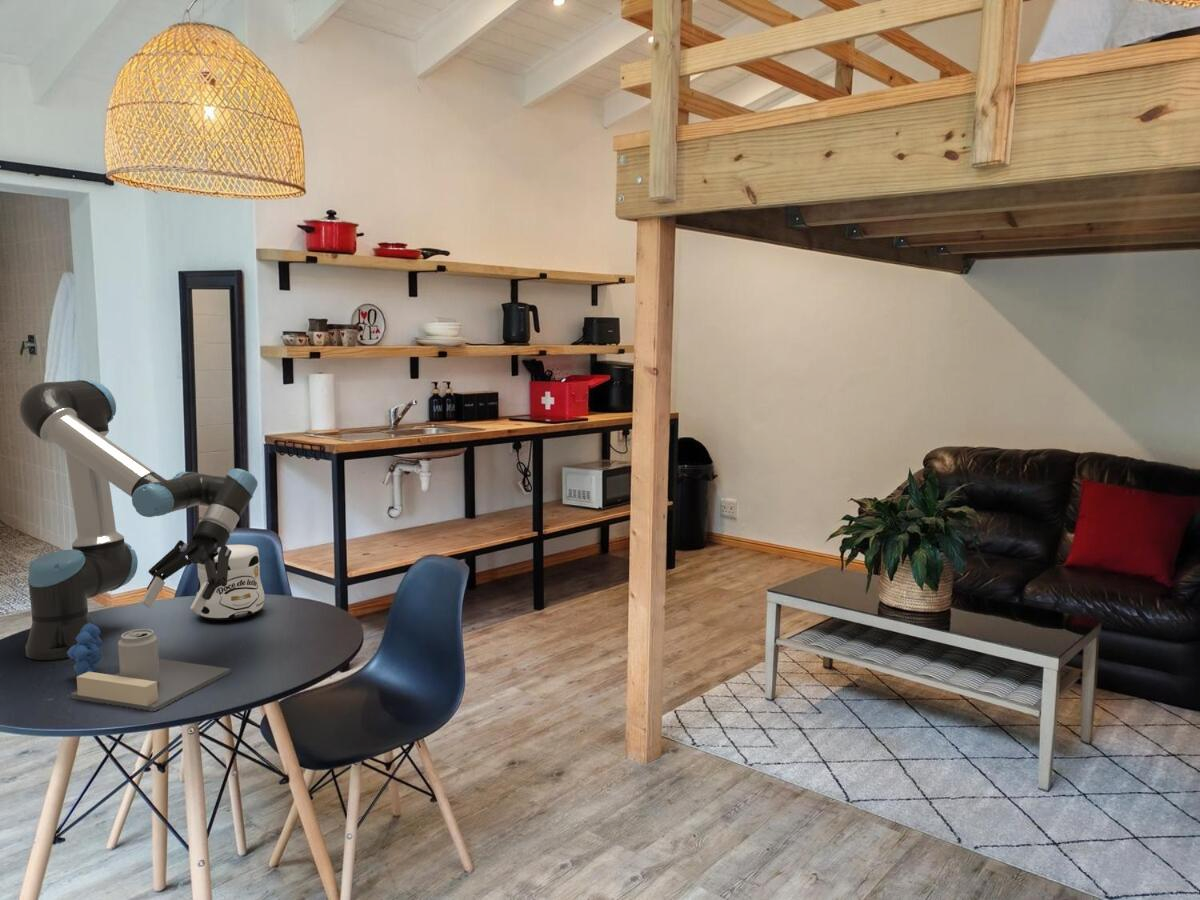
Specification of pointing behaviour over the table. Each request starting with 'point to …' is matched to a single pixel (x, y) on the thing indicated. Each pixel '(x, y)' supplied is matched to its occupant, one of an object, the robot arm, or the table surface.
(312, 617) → the table surface
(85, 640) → the grapes
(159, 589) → the robot arm
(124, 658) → the can
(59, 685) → the table surface
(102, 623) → the table surface
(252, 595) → the milk container
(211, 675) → the stop plate
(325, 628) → the table surface
